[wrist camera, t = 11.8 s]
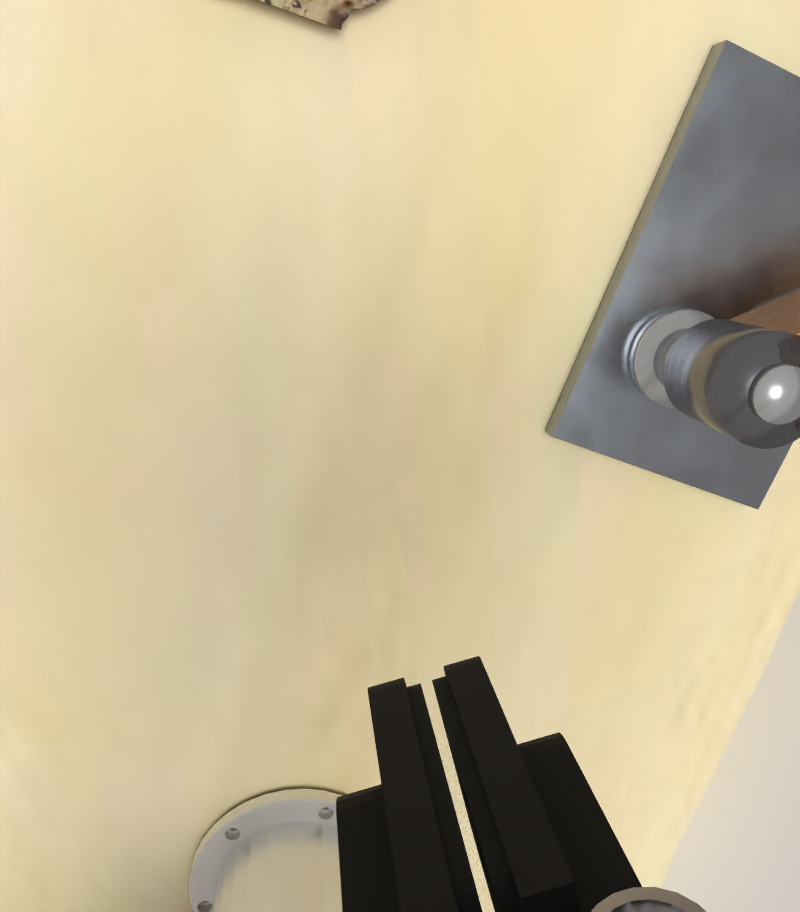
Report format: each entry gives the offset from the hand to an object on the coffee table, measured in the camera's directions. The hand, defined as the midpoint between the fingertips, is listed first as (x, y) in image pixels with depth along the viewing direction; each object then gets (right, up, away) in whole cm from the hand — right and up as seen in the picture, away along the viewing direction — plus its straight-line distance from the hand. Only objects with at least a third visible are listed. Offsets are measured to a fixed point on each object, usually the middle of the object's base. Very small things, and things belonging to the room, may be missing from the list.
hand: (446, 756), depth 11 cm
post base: (+17, +13, +29) cm, 36 cm away
